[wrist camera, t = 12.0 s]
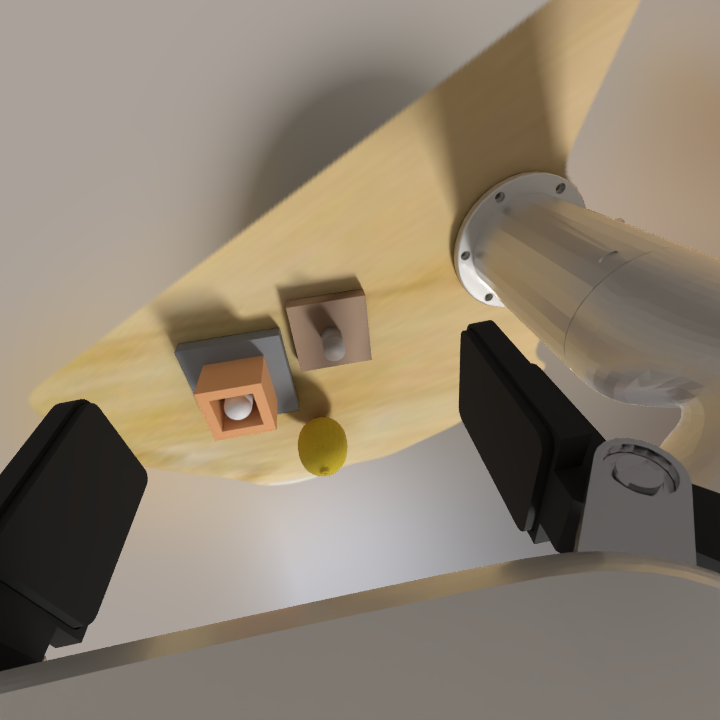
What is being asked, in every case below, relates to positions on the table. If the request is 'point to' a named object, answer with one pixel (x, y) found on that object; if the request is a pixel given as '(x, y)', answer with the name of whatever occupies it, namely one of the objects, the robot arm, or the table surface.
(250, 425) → the collar
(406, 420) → the table surface
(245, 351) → the plate
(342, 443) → the lemon
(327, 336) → the stand
